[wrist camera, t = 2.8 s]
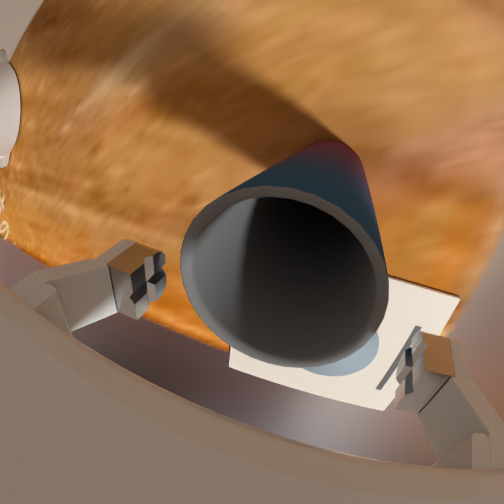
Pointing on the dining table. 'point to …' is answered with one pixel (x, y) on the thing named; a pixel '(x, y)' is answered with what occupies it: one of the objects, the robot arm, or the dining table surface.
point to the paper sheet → (366, 351)
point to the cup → (291, 261)
